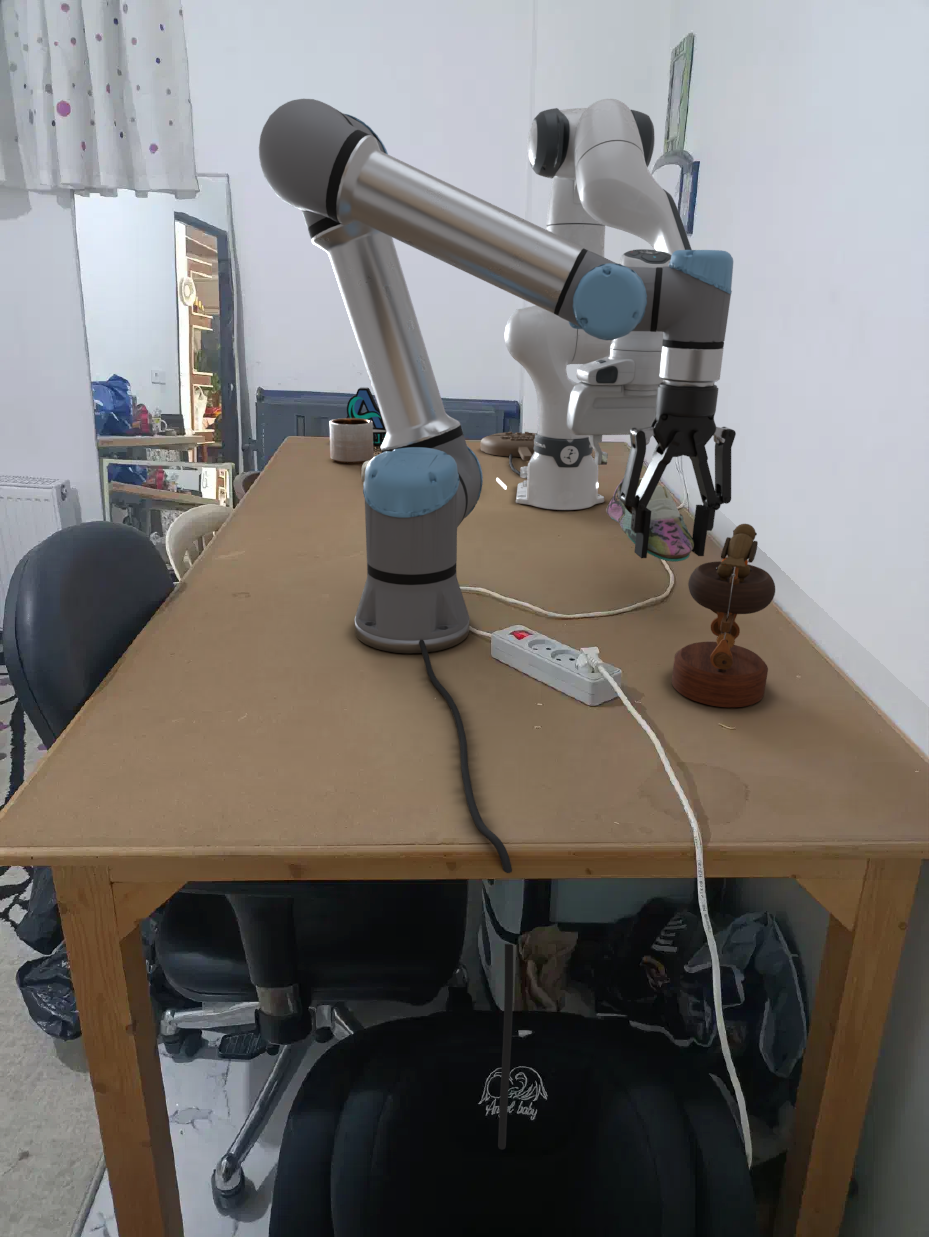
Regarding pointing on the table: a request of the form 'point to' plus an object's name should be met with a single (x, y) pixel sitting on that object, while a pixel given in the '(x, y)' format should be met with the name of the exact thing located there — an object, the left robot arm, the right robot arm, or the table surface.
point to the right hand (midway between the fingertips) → (630, 463)
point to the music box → (726, 628)
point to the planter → (351, 440)
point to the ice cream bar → (510, 444)
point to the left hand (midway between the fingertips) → (668, 553)
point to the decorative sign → (367, 412)
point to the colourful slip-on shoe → (656, 525)
